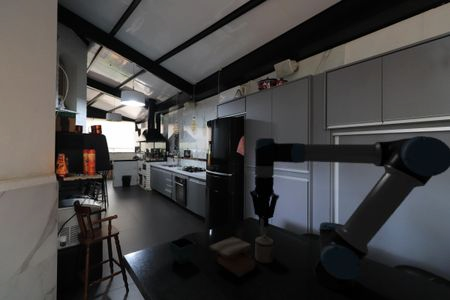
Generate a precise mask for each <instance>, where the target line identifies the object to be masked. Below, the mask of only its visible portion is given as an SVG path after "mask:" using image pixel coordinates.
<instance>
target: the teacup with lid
mask: <svg viewBox="0 0 450 300" xmlns="http://www.w3.org/2000/svg"><path fill="white" fill-rule="evenodd" d="M254 243H255V247H254V248H255V249H254V252H255V255H254V258H255V260H256V261H257V262H259V263H260V264H270V263H272V262H273V260H274V244H275V242H274V240H273V239H272V238H271V237H268V236H267V234H265V235H261V236H258V237H256V238H255V240H254Z"/></svg>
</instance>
